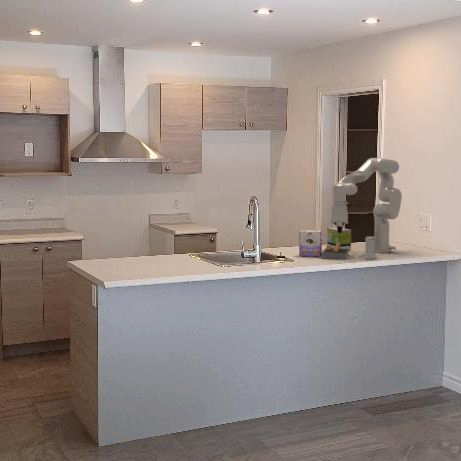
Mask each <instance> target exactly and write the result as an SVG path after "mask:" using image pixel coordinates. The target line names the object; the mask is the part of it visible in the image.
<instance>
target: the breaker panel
mask: <svg viewBox="0 0 461 461" xmlns="http://www.w3.org/2000/svg"><path fill="white" fill-rule="evenodd" d="M349 256H350V251H349V249H338V252H336V251H334V248H331V250H326V247H325V248H324V249H322V252H321V257H320V258H321V260H338V259H340V260H344V261H346V260H347V259H348V257H349Z"/></svg>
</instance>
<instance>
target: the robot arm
mask: <svg viewBox="0 0 461 461" xmlns="http://www.w3.org/2000/svg"><path fill="white" fill-rule="evenodd" d="M399 169H400V164H399V162H398V161H397V160H394V159H388V158H382V157H370V158H368V159H367V160H366V161H364V163H363V164H362V165H361V166H360V167H358V169H357V170H355V171H353V172H351V173H349V174H346V176H344V177H342V178H341V179H340V180H339V182H338V183H335V184H334V185H333V186H332V201H333V202H332V203H333V204H332V206H331V213H330V214H331V217H330V218H331V221H330V224H333V225H335V226H336V228H337V232H338V233H341V232H342V228H343V226H344V225H347V224H349V214H348V211H349V210H348V206H347V205H348V204H349V202H348V201H347V200H346V196H352V195H355V194H356V193H357V192H358V186H357V185H356V184H359V183H363V182H365V181H367V180H368V179H369V178H370V177H371V176H372V174H374V173H375V172H377V173H378V175H379V178H380V181H379V190H378V200H379V201H381V202H383V203H377V204H375V205H374V207H373V218H374V236H373V237H375V253H378V254H379V253H380V254H381V253H382V254H385V253H391V252H392V250H397V246H394V245H393V246H392V245H391V244H390V222H389V220H396V218H398V217H399V215H400V210H401V209H400V208H401V206H402V205H401V203H402V192H401V190H400V189H399V188H396V187H394V185H395V184H394V183H395V179H394V176H393V174H396V173H397V172H399ZM387 203H389V204H387ZM339 224H340V225H339Z"/></svg>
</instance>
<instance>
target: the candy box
mask: <svg viewBox="0 0 461 461" xmlns="http://www.w3.org/2000/svg"><path fill="white" fill-rule="evenodd" d="M298 235H299V239H298V241H299V247H298V248H299V251H298V253H299V257H304V258H305V257H306V258H321V252H322V251H323V230H313V229H312V230H307V229H306V230H299V234H298Z"/></svg>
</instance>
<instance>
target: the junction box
mask: <svg viewBox="0 0 461 461" xmlns="http://www.w3.org/2000/svg"><path fill="white" fill-rule="evenodd" d="M364 240H365V246H364V247H365V249H364V250H365V252H364V255H365V256H364V259H365V260H370V261H371V260H374V259H375V255H376V252H375V237H374V236H371V235H370V236H368V235H367V236H366V237H365V238H364Z"/></svg>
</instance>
